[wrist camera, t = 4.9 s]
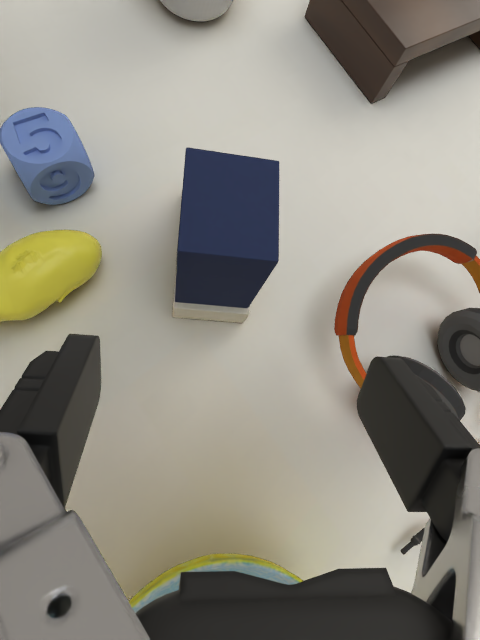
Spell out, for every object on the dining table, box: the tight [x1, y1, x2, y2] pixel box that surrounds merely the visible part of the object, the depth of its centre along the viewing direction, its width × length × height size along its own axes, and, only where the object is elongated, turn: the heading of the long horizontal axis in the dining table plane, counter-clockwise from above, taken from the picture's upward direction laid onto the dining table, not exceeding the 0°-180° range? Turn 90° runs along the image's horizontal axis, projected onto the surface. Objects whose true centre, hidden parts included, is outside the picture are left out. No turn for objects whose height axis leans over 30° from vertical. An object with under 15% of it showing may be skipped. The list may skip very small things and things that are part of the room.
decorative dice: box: [0, 107, 94, 205], centre depth 24 cm, size 4×4×4 cm
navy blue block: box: [172, 148, 279, 323], centre depth 22 cm, size 9×5×9 cm, turn 178°
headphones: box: [334, 234, 480, 554], centre depth 24 cm, size 17×5×20 cm
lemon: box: [0, 230, 102, 321], centre depth 22 cm, size 4×8×4 cm, turn 122°
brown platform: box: [305, 0, 480, 103], centre depth 33 cm, size 16×10×5 cm, turn 123°
